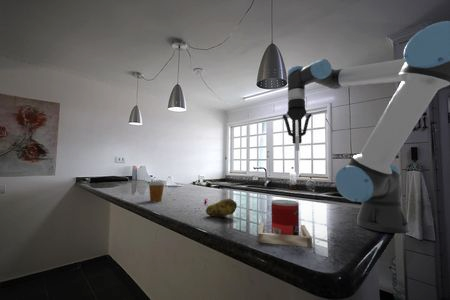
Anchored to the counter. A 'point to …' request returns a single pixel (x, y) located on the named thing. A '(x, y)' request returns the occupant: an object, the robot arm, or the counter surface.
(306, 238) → the shallow beige tray
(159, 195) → the disposable coffee cup
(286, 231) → the canned food
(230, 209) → the potato
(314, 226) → the counter surface
